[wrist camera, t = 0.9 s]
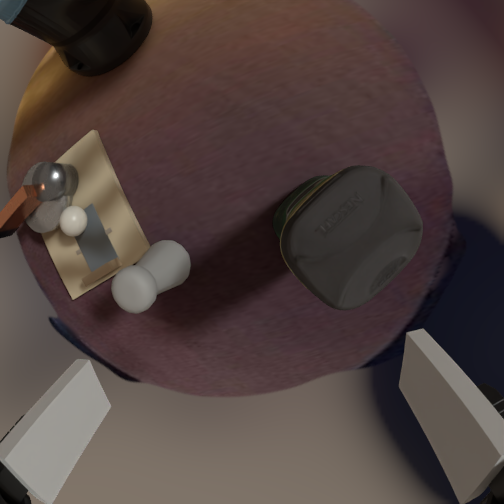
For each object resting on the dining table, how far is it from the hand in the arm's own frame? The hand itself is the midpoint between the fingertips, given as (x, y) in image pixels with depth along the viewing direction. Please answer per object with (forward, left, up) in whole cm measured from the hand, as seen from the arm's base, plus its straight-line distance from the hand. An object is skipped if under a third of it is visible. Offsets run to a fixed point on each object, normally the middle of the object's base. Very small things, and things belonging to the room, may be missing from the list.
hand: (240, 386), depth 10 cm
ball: (-15, -19, -24) cm, 34 cm away
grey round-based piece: (-21, -25, -24) cm, 40 cm away
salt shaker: (-4, -10, -26) cm, 28 cm away
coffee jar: (-1, +8, -26) cm, 27 cm away
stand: (-15, -20, -25) cm, 36 cm away
